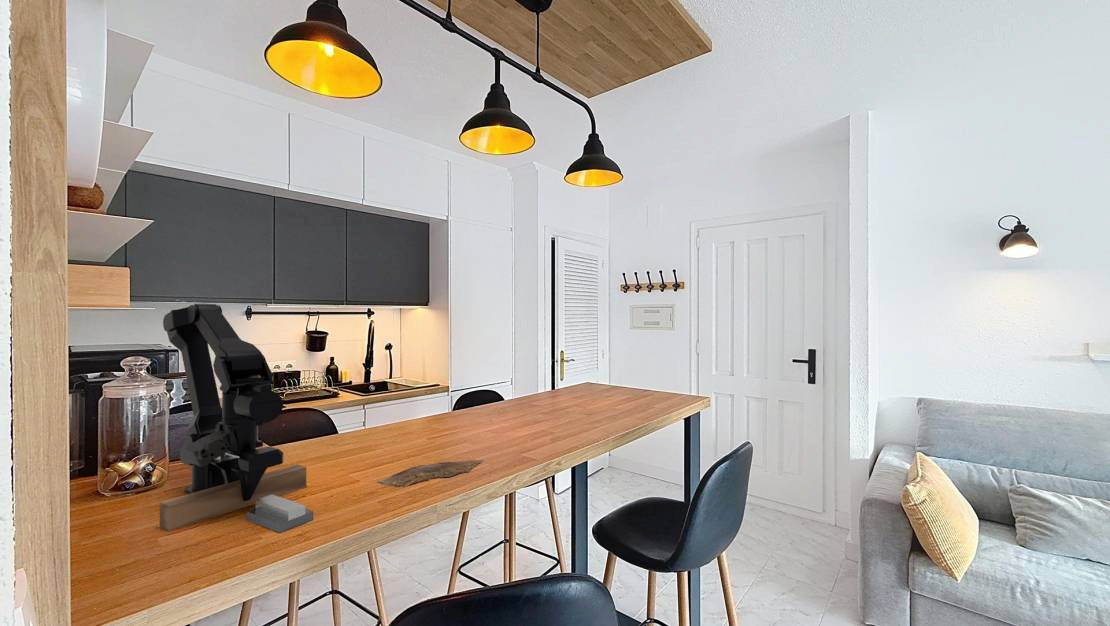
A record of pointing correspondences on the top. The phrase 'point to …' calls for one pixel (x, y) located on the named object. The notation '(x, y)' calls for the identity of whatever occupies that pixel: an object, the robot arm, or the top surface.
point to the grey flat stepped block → (279, 513)
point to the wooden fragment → (428, 472)
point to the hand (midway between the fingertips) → (240, 498)
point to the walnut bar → (227, 498)
